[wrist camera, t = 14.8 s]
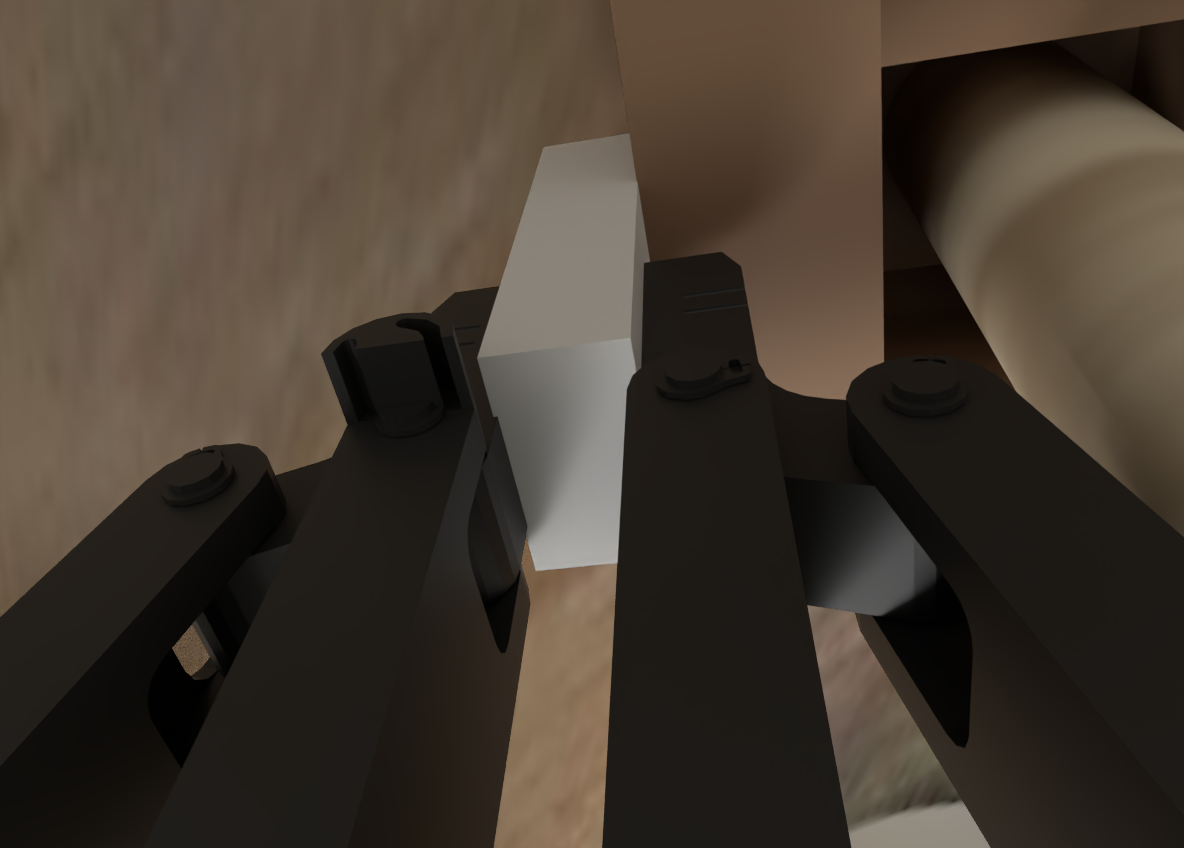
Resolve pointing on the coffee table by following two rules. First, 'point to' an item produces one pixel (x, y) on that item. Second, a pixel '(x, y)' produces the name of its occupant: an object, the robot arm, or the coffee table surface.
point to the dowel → (1060, 243)
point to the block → (835, 155)
